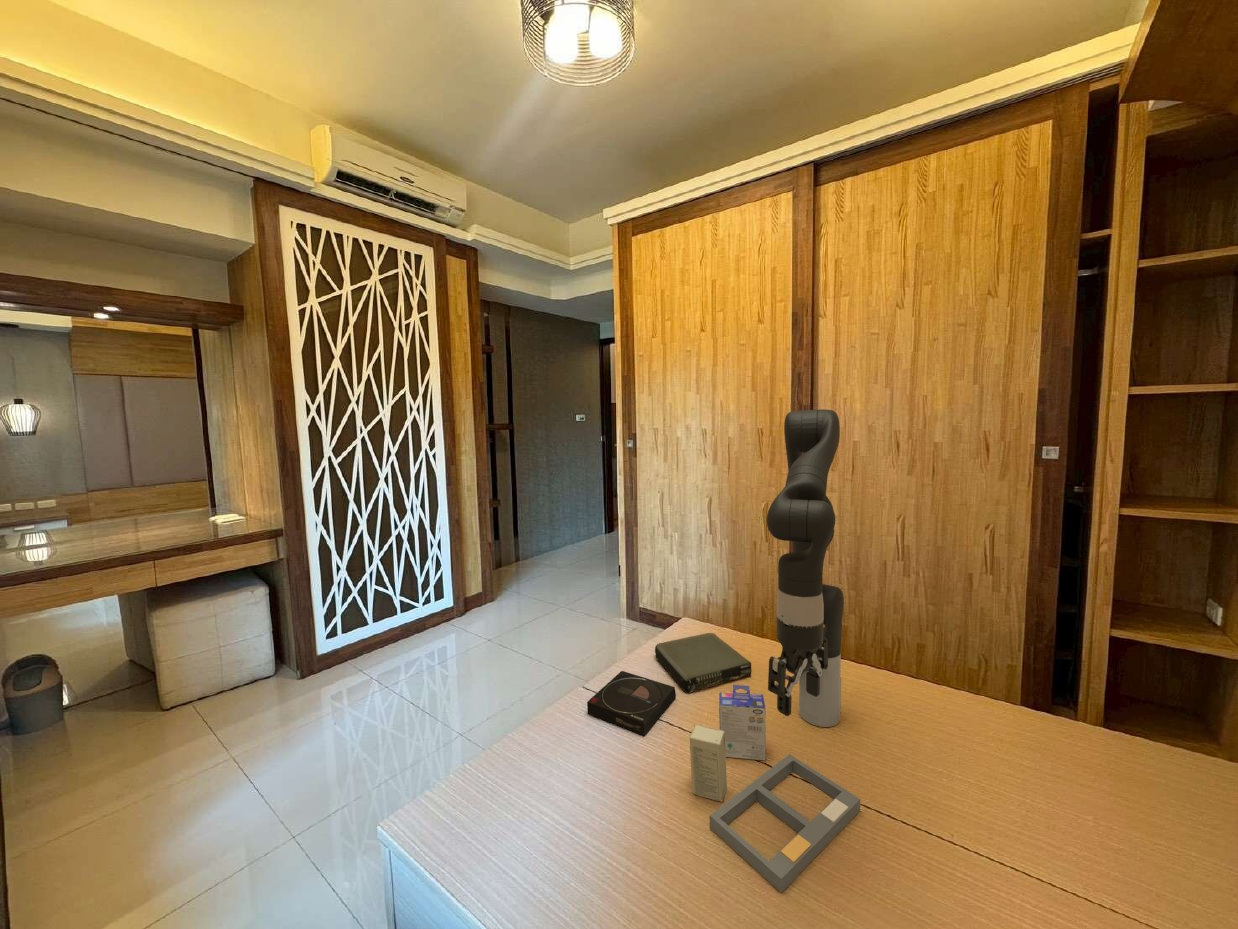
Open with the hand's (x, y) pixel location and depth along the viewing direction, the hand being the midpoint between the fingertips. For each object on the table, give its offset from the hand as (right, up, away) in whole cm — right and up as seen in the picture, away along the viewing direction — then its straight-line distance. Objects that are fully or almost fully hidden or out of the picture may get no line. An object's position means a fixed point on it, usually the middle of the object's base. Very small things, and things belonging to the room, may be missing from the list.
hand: (798, 703), depth 83 cm
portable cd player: (-28, -22, +40) cm, 53 cm away
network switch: (-7, -19, +57) cm, 61 cm away
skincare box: (-13, -24, +12) cm, 30 cm away
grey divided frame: (-1, -24, +5) cm, 24 cm away
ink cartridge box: (-4, -22, +23) cm, 32 cm away
